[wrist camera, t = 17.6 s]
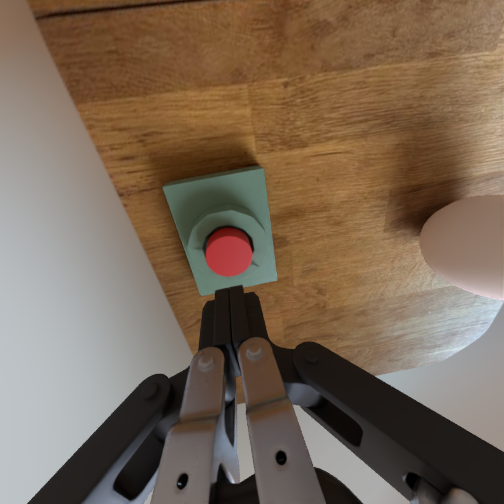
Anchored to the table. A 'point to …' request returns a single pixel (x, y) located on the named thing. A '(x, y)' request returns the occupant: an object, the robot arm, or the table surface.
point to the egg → (468, 244)
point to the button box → (224, 222)
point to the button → (228, 252)
